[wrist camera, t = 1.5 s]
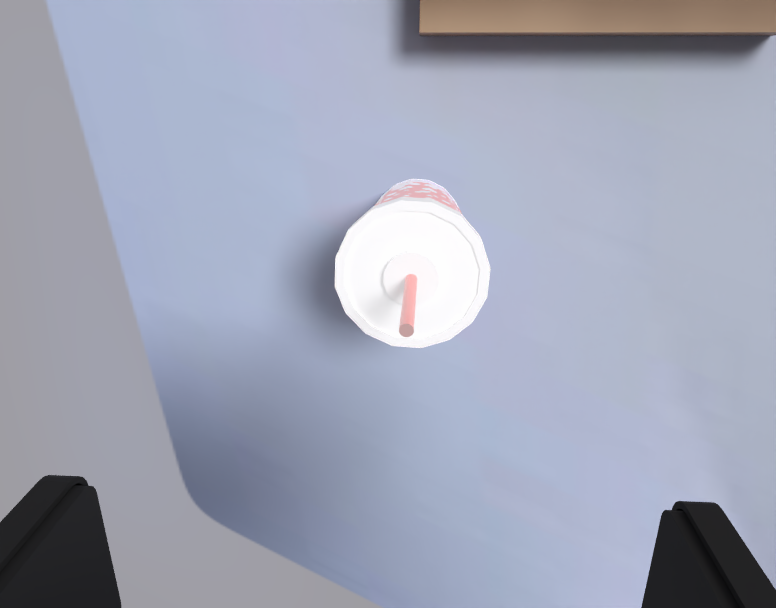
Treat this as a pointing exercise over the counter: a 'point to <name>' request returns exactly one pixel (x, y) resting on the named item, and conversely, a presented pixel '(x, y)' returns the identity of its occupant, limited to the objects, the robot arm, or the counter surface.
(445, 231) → the beverage cup
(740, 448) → the counter surface
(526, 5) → the walnut base
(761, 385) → the counter surface
